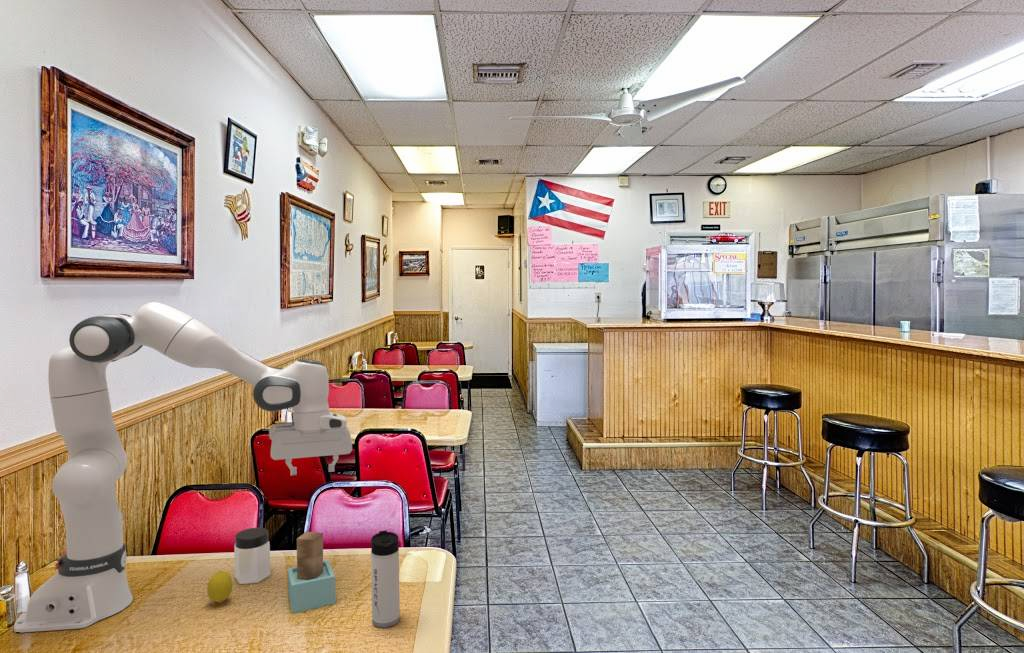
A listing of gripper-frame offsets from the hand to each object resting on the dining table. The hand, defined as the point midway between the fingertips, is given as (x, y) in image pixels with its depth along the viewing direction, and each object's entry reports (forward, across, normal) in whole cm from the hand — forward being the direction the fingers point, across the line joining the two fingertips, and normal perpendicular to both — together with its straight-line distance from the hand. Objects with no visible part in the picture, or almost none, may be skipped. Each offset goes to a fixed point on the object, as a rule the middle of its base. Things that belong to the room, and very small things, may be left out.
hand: (312, 473), depth 150 cm
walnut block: (+23, -1, -9) cm, 25 cm away
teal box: (+29, -1, -9) cm, 31 cm away
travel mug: (+29, +16, -25) cm, 42 cm away
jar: (+29, -16, +8) cm, 34 cm away
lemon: (+29, -22, -4) cm, 37 cm away
